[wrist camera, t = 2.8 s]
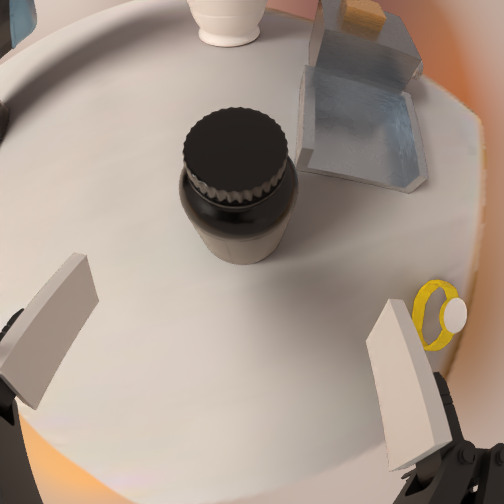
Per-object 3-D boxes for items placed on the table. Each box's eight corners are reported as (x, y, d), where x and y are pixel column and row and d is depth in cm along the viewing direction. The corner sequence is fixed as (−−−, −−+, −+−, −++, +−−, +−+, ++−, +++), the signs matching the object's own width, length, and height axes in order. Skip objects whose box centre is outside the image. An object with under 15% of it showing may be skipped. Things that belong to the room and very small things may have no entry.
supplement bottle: (260, 177, 24) (270, 78, 13) (296, 244, 23) (343, 179, 11) (188, 208, 24) (145, 123, 12) (220, 280, 22) (193, 244, 11)
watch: (420, 347, 22) (459, 357, 16) (398, 344, 22) (435, 355, 16) (432, 285, 23) (472, 281, 17) (410, 279, 23) (450, 275, 17)
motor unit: (294, 169, 25) (322, 84, 14) (301, 43, 29) (314, -21, 18) (424, 197, 25) (490, 146, 14) (396, 68, 29) (425, 15, 18)
